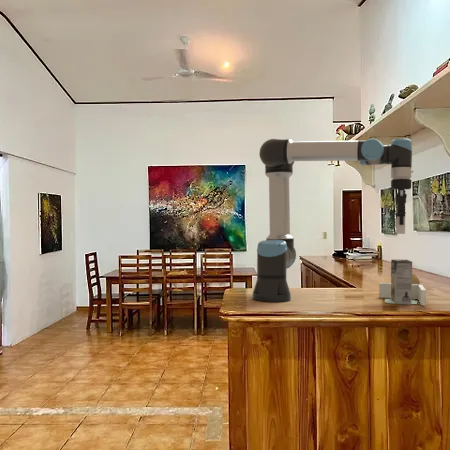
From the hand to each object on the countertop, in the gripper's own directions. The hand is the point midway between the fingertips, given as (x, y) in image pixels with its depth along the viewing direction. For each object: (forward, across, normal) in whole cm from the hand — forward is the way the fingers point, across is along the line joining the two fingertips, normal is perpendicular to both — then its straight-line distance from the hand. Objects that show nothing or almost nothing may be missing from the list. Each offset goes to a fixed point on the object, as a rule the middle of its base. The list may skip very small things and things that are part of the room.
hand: (400, 233), depth 188 cm
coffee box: (+27, 0, 0) cm, 27 cm away
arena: (+27, +2, 0) cm, 27 cm away
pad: (+27, 0, 0) cm, 27 cm away
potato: (+27, +20, -3) cm, 34 cm away
